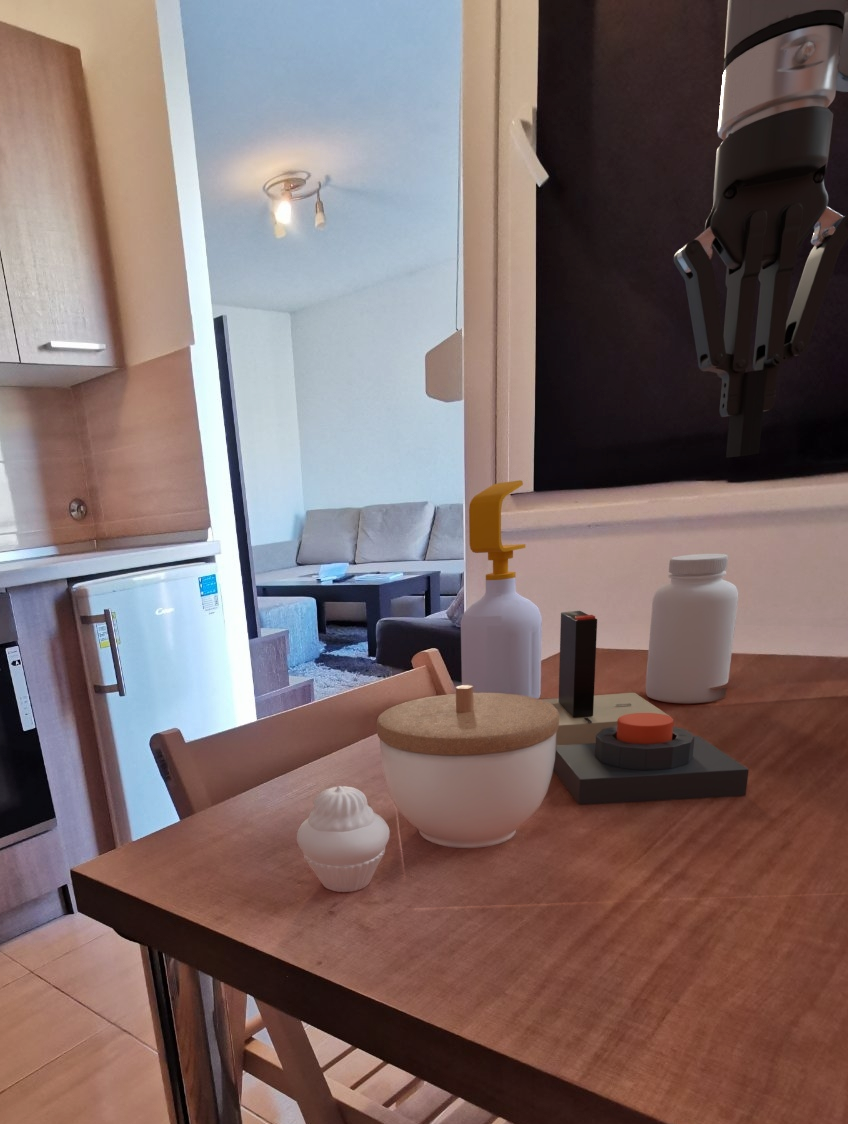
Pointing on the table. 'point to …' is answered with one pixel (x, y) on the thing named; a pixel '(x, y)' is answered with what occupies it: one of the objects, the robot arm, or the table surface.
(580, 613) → the black rectangular block
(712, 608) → the pill bottle
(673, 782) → the switch block
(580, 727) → the plate
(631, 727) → the button
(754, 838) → the table surface
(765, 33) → the robot arm
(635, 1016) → the table surface
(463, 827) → the lidded bowl
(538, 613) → the soap bottle
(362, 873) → the muffin
